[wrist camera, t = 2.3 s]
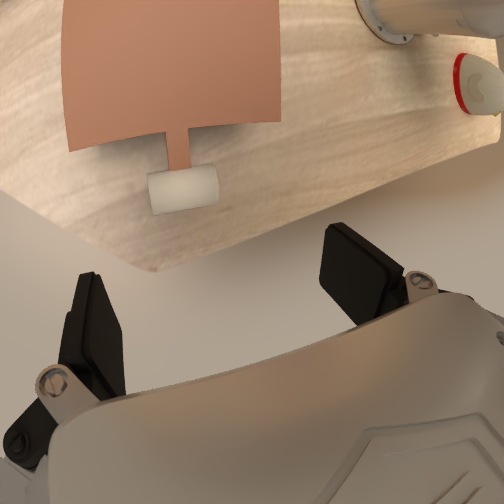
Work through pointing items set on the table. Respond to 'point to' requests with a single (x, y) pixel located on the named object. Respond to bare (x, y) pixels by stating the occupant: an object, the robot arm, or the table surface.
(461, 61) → the kitchen timer
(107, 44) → the lid
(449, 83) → the table surface
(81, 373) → the robot arm
